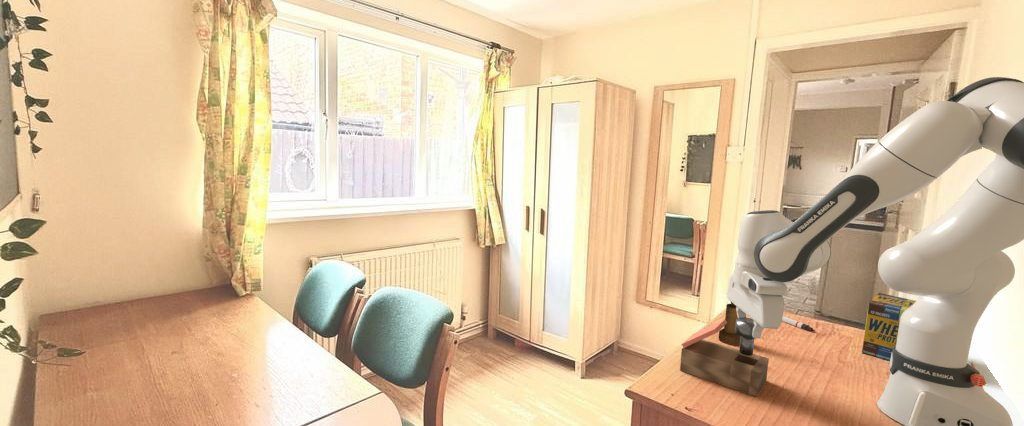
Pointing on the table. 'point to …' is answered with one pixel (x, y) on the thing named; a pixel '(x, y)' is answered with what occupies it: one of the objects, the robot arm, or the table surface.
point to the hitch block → (725, 366)
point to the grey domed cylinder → (745, 335)
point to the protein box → (883, 324)
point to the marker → (797, 324)
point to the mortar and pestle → (730, 327)
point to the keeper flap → (705, 333)
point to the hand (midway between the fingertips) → (748, 330)
